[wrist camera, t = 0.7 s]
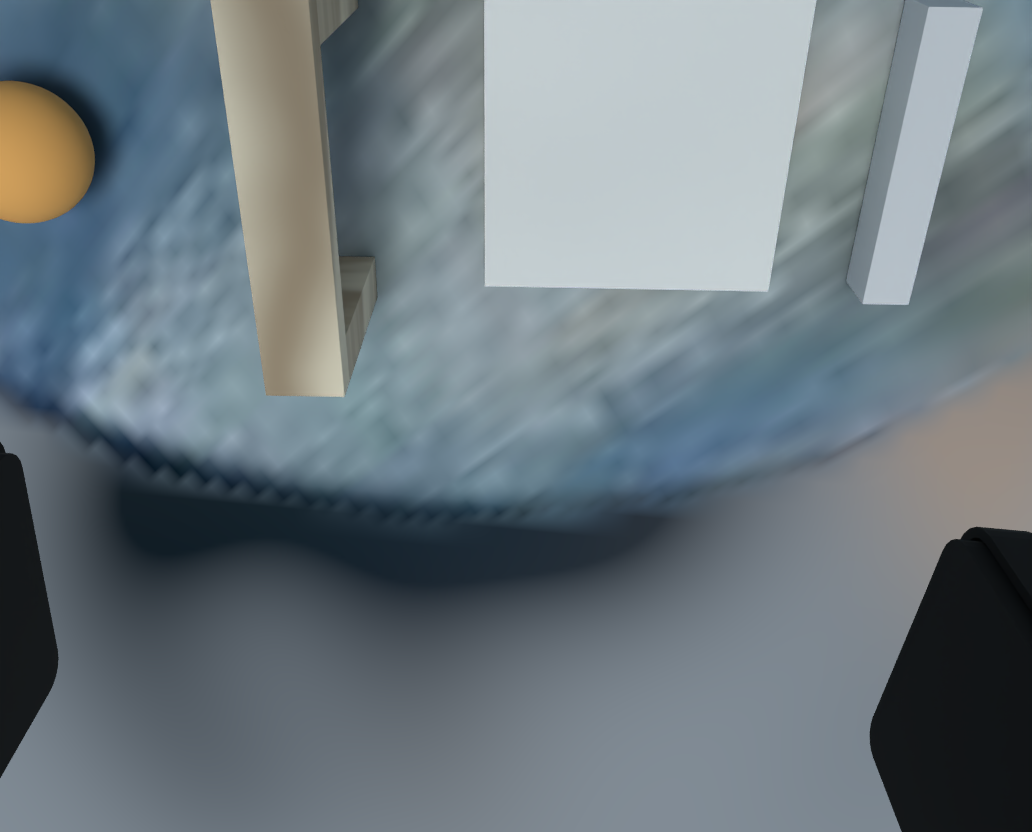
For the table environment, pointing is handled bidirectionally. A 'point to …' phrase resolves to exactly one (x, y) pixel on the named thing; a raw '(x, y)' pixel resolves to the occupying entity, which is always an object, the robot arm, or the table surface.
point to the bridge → (291, 193)
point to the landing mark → (639, 140)
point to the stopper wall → (911, 146)
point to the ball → (41, 154)
